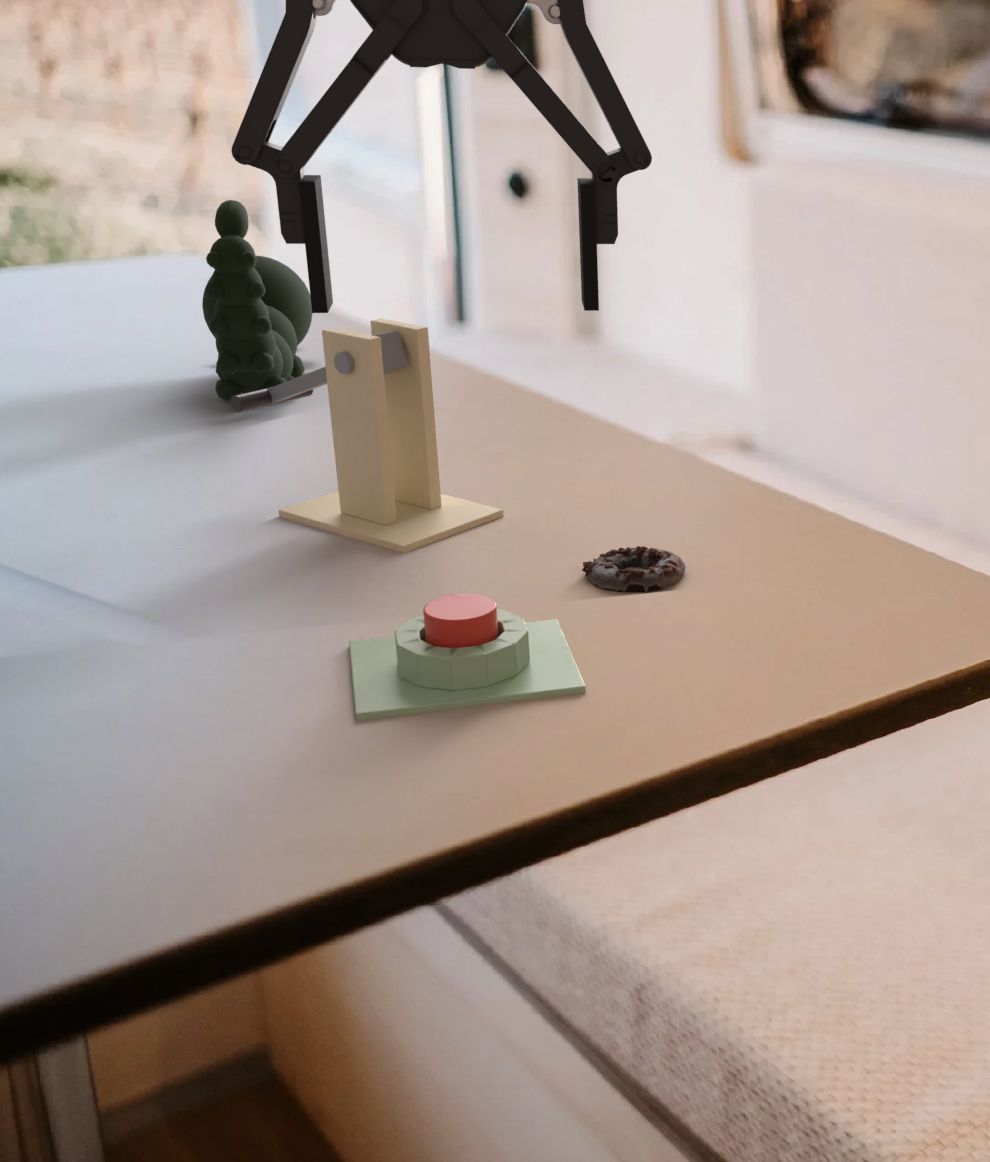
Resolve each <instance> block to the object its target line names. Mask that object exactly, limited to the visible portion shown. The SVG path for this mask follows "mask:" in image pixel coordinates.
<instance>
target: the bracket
mask: <svg viewBox="0 0 990 1162" xmlns="http://www.w3.org/2000/svg"><path fill="white" fill-rule="evenodd" d="M369 323H370V330H371V331H370V333H371V334H367V333H360V332H356V331H351V330H346V329H340V328H337V327H331V328H326V329H322V330H321V336H322V346H323V355H324V365H325V366H324V367H326V376H327V384H326V386H327V393H328V403H329V413H330V422H331V432H332V443H333V451H334V461H335V471H336V480H337V491H335V492H332V493H329V494H325V495H322V496H319V497H316V498H313V499H310V500H306V501H303V502H300V503H297V504H293V505H290V506H286V507H283V508H280V509H278V516H279V518H283V519H285V520H289V521H293V522H296V523H300V524H303V525H307V526H310V527H313V528H317V529H320V530H324V531H326V532H327V531H328V532H330V533H333V534H334V533H335V534H338V535H341V536H344V537H348V538H350V539H354V540H358V541H362V542H364V543H368V544H371V545H375V546H379V547H381V548H385V549H388V550H393V551H396V552H399V553H402V554H403V553H404V554H405V553H408V552H410V551H413V550H416V549H418V548H422V547H424V546H427V545H430V544H432V543H435V542H437V541H440V540H443V539H446V538H449V537H451V536H454V535H456V534H460V533H462V532H464V531H467V530H470V529H472V528H475V527H478V526H481V525H484V524H486V523H489V522H492V521H494V520H497V519H499V518H503V517H504V510H503V509H501V508H498V507H494V506H491V505H486V504H482V503H479V502H475V501H471V500H467V499H463V498H459V497H456V496H451V495H447V494H444V493H442V492H441V480H440V478H441V477H440V465H439V453H438V441H437V440H438V439H437V428H436V427H437V426H436V412H435V402H434V388H433V375H432V363H431V349H430V336H429V335H430V334H429V327H428V326H424V325H419V324H415V323H414V324H413V323H409V322H403V321H397V320H392V319H387V318H377V319H372V320H371V319H370V322H369ZM396 330H397V331H398V333H399V336H400V339H401V342H402V345H403V348H404V350H405V353H406V356H407V359H408V362H409V366H407V367H404V368H401V369H399V370H396V371H393V372H390V373H388V374H385V375H384V371H383V360H382V349H381V338H380V337H377V336H372V335H377V334H381V333H386V332H391V331H396Z"/></svg>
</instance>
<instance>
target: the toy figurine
mask: <svg viewBox="0 0 990 1162" xmlns="http://www.w3.org/2000/svg"><path fill="white" fill-rule="evenodd" d="M214 227H215V229H216V232H217V234H218V236H219V237H220V238H218V239H216V240H215V241H214V242H213V244H212V245H211V247H210V249H209V252H208V253H207V255H206V257H205V260H206V263H207V264H208V266H209V267H210V268H213V269H214V271H213V272H212V275H211V276H210V277H209V279H208V280H207V283H206V285H205V287H204V290H203V294H202V304H201V306H202V307H201V308H202V313H203V319H204V321H205V323H206V326H207V328H208V331H209V332H210V333H211V334H212V336H213V338H214V339H215V348H216V352H217V354H218V355H217V360H216V362H215V363H216V366H215V373H216V374H217V376H218V378H219V379H218V380H217V381H216V384H215V389H214V391H215V392H216V395H217V397H218V398H219V399H220V400H223V401H224V402H231V398H232V396H235V395H239V394H243V393H248V392H252V391H257V390H261V389H265V388H270V387H274V386H277V385H279V384H282V383H284V382H287V381H289V380H292V379H295V378H297V377H300V376H302V375H304V372H305V370H306V369H305V365H304V363H303V361H302V359H301V357H300V356H298V355H296V354H297V351H298V346H299V345H300V344H301V343H302V342H304V339H305V338H306V336H307V334H308V332H309V331H310V327H311V325H312V320H313V313H312V306H311V297H310V289H308V286H307V284H306V283H305V281H304V280H303V279H302V278H301V277H300V275H299V274H297V273H296V271H294V270H293V269H292V268H291V267H289V266H287V265H286V264H285V263H282V262H280V261H279V260H276V259H274V258H271V257H268V256H263V255H257V254H256V252H255V249H254V247H253V246H252V245H251V243H250V242H249V241H247V240H246V239H245V237H246V236H247V233H248V231H249V214H248V211H247V208H246V207H245V205H243V204H242V202H240V201H238V200H234V199H229V200H225V201H223V202H221V203H220V204H219V206H218V207H217V209H216V212H215V217H214Z"/></svg>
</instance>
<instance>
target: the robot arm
mask: <svg viewBox="0 0 990 1162" xmlns="http://www.w3.org/2000/svg"><path fill="white" fill-rule="evenodd" d="M336 2H337V0H285V14H284V16H283V17H282V21H281V23H280V26H279V28H278V30H277V33H276V35H275V38H274V41H273V43H272V45H271V48H270V50H269V53H268V56H267V58H266V60H265V63H264V65H263V69H262V71H261V73H260V76H259V78H258V80H257V83H256V86H255V88H254V91H253V93H252V95H251V98H250V100H249V103H248V106H247V108H246V111H245V113H244V115H243V118H242V121H241V123H240V126H239V128H238V130H237V133H236V136H235V138H234V140H233V143H232V145H231V151H230V152H231V156H232V158H233V159H234V160H235V162H237V163H238V164H240V165H243V166H250V167H253V168H255V169H259V170H261V171H263V172H266V173H267V174H268V175H270V176H271V177H272V179H273V182H274V184H275V190H276V191H275V192H276V199H277V210H278V217H279V227H280V235H281V236H282V239H283V240H284V242H285V244H287V245H304V246H305V257H306V267H307V277H308V286H309V293H310V297H311V306H312V314H328V313H329V312H330V310H331V307H332V306H333V304H334V300H333V299H334V298H333V287H332V278H331V277H332V276H331V268H330V267H331V266H330V257H329V246H328V235H327V228H326V227H327V226H326V215H325V206H324V196H323V195H324V194H323V187H322V176H321V175H319V174H305V170H304V168H305V166H306V165H307V164H308V163H309V161H310V160H311V159H312V157H313V156H314V155H315V154H316V153H317V151H318V150H319V149H320V147H321V146H322V145H323V143H324V142H325V141H326V139H327V138H328V137H329V135H330V134H331V133H332V132H333V130H334V129H335V128H336V127H337V125H338V124H339V123H340V122H341V120H342V119H343V118H344V116H345V115H346V114H347V112H348V111H349V110H350V109H351V108H352V107H353V105H354V103H355V102H356V101H357V99H358V98H359V97H360V95H362V93H363V92H364V90H366V88H367V87H368V85H369V84H370V83H371V81H373V79H374V78H375V77H376V75H377V74H378V73H379V72H380V71H381V69H382V68H383V66H384V65H385V64H386V63H387V61H388V60H389V58H390V57H392V56H393V57H394V59H396V60H397V61H399V62H400V63H402V64H404V65H406V66H409V68H430V67H434V66H439V65H442V64H443V65H447V66H450V67H453V68H457V69H465V70H466V69H468V70H476V68H479V67H483V66H484V65H486V64H487V63H488V62H490V61H491V60H492V59H493V60H494V61H495V62H496V63H497V65H499V67H500V68H501V69H502V70H503V71H504V73H505V74H506V75H507V76H508V77H509V79H511V80H512V82H514V84H515V85H516V86H517V87H518V88H519V90H520V91H521V92H522V93H523V95H524V96H526V98H527V99H528V100H529V102H530V103H531V104H532V105H533V106H534V108H536V110H537V111H538V112H539V113H540V114H541V115H542V117H543V118H544V119H545V120H546V121H547V122H548V124H549V125H550V126H551V127H552V128H553V129H554V131H555V132H556V133H557V135H558V136H560V138H562V140H563V141H564V142H565V143H566V144H567V146H568V147H569V148H570V149H571V150H572V152H573V153H574V154H575V155H576V156H577V157H578V159H579V160H580V161H581V162H582V164H583V165H585V167H586V168H587V169H588V171H589V172H590V173H591V178H590V177H588V178H587V177H586V178H585V177H577V179H576V180H577V203H578V206H577V207H578V235H579V260H580V261H579V262H580V291H581V292H580V293H581V303H582V306H583V310H584V312H585V311H587V312H589V311H591V312H592V311H594V312H596V311H598V312H599V311H600V301H599V300H600V299H599V269H598V245H615V244H616V242H617V239H618V237H619V219H618V218H619V217H618V216H619V214H618V212H619V211H618V185H619V182H620V180H621V179H622V178H623V177H624V176H627V175H629V174H632V173H635V172H638V171H643V170H646V169H648V168H649V167H650V165H651V164H652V162H653V161H652V160H653V157H652V153H651V151H650V149H649V147H648V145H647V143H646V140H645V139H644V137H643V135H642V133H641V130H640V129H639V127H638V125H637V122H636V120H635V119H634V116H633V114H632V112H631V111H630V109H629V107H628V105H627V103H626V100H625V99H624V96H623V94H622V92H621V91H620V89H619V86H618V85H617V82H616V81H615V79H614V76H613V75H612V72H611V71H610V69H609V67H608V64H607V63H606V61H605V59H604V56H603V54H602V52H601V50H600V48H599V46H598V45H597V44H598V43H596V40H595V38H594V36H593V35H592V31H591V30H590V27H589V26H588V24H587V20H586V19H587V18H586V11H585V4H584V0H349V2H350V3H351V4H352V5H353V7H354V8H355V9H356V11H357V12H358V13H359V15H360V16H361V17H362V18H363V20H364V21H365V22H366V23H367V24H368V26H369V27H370V28H371V30H372V31H371V32H370V33H369V35H368V36H367V37H366V39H365V40H364V41H363V42H362V44H361V45H360V46H359V48H358V49H357V50H356V52H354V54H353V56H352V57H351V59H350V60H349V61H348V63H346V64H345V66H344V68H343V69H342V71H341V72H340V73H339V74H338V75H337V77H336V78H335V79H334V80H333V82H332V83H331V84H330V86H329V87H328V88H327V90H326V91H325V92H324V93H323V95H322V96H321V97H320V98H319V100H318V101H317V102H316V104H315V105H314V107H313V108H312V110H310V112H309V113H308V114H307V115H306V117H305V118H304V119H303V121H302V122H301V123H300V125H298V127H297V129H295V131H294V133H293V134H292V135H291V136H290V138H289V139H288V140H287V141H286V143H285V144H284V145H283V146H281V145H278V144H275V143H272V142H270V139H271V137H272V135H273V132H274V130H275V127H276V126H277V123H278V121H279V117H280V115H281V113H282V111H283V107H284V106H285V103H286V101H287V98H288V95H289V93H290V92H291V91H290V90H291V88H292V85H293V84H294V80H295V78H296V76H297V74H298V71H299V68H300V66H301V63H302V61H303V59H304V56H305V55H306V51H307V49H308V46H309V44H310V42H311V39H312V36H313V35H314V30H315V27H316V24H317V19H318V17H324V16H327V15H329V14H331V13H332V12H333V10H334V8H335V4H336ZM527 4H533V5H535V6H536V7H537V8H539V9H540V11H541V14H542V16H543V18H544V20H545V21H547V22H548V23H550V24H552V25H560V28H561V31H562V34H563V36H564V38H565V41H566V43H567V45H568V47H569V49H570V51H571V53H572V55H573V57H574V59H575V61H576V63H577V65H578V67H579V68H580V70H581V73H582V75H583V77H584V78H585V81H586V83H587V84H588V87H589V89H590V91H591V92H592V95H593V96H594V98H595V101H596V103H597V104H598V107H599V108H600V110H601V112H602V114H603V116H604V118H605V120H606V122H607V124H608V126H609V128H610V131H611V132H612V134H613V136H614V137H615V140H616V142H617V144H618V146H619V147H618V148H616V149H613V150H610V151H608V152H606V151H605V150H604V148H603V147H602V146H601V145H600V144H599V143H598V141H597V139H595V138H594V136H593V135H592V134H591V133H590V132H589V131H588V129H587V128H586V127H585V126H584V125H583V124H582V122H581V121H580V120H579V119H578V117H576V115H575V114H574V113H573V111H571V109H570V108H569V107H568V106H567V105H566V103H565V102H564V100H562V98H561V97H560V96H559V95H558V93H556V91H555V90H554V89H553V88H552V87H551V85H550V84H549V83H548V82H547V81H546V80H545V78H544V77H543V76H542V75H541V74H540V72H539V71H538V70H537V69H536V68H535V66H533V64H532V63H531V62H530V61H529V59H527V57H526V56H525V54H524V53H523V52H522V51H521V50H520V49H519V47H518V46H517V45H516V44H515V43H514V42H513V40H511V38H510V37H509V36H508V35H509V33H510V32H511V31H512V29H513V27H514V26H515V24H516V23H517V21H518V20H519V18H520V17H521V16H522V14H523V12H524V11H525V9H526V7H527Z"/></svg>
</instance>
